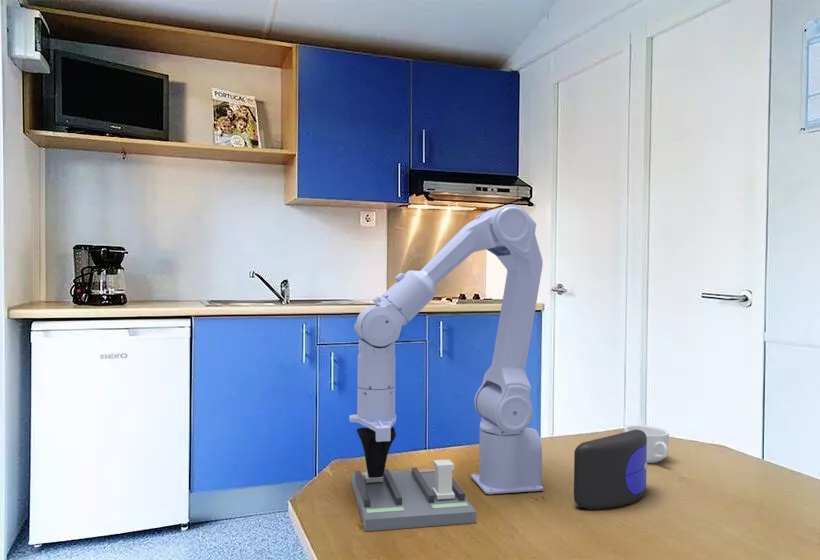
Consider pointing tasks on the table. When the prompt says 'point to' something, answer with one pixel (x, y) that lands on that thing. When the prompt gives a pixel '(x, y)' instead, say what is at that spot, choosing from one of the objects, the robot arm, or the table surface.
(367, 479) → the breaker
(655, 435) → the teacup
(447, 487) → the breaker
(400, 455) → the table surface
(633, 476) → the leaning round-cornered charcoal block
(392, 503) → the panel
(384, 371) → the robot arm
